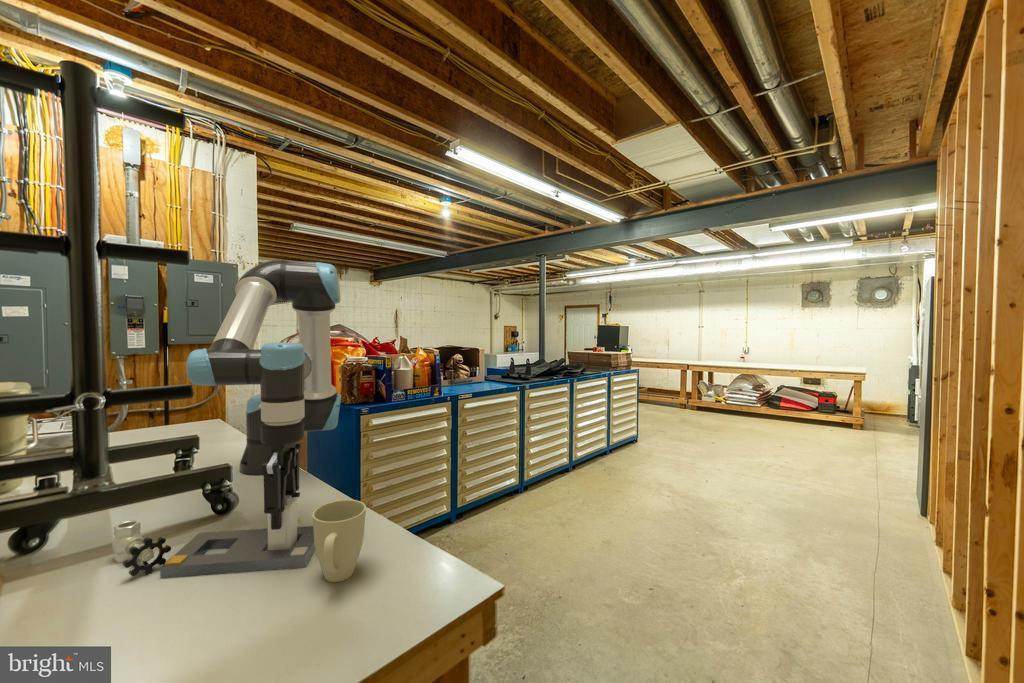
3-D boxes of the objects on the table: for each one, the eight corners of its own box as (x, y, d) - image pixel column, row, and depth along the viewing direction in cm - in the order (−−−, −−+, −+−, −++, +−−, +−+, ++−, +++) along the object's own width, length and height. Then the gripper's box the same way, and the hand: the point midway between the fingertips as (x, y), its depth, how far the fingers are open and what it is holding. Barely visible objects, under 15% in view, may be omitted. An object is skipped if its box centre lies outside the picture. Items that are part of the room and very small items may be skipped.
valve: (100, 562, 76) (125, 584, 70) (99, 528, 76) (124, 547, 70) (145, 546, 82) (171, 565, 76) (144, 514, 82) (171, 531, 76)
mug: (298, 576, 73) (298, 512, 73) (350, 554, 81) (351, 495, 80) (325, 605, 66) (326, 534, 66) (380, 577, 74) (381, 513, 73)
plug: (275, 547, 83) (275, 494, 82) (297, 545, 83) (297, 493, 83) (267, 558, 79) (267, 503, 78) (290, 556, 80) (290, 501, 79)
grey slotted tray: (199, 542, 84) (199, 531, 84) (323, 534, 88) (323, 524, 88) (160, 578, 72) (160, 565, 72) (305, 567, 76) (305, 555, 76)
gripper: (279, 411, 88) (279, 517, 89) (241, 433, 71) (241, 563, 72) (316, 411, 89) (315, 515, 90) (287, 432, 72) (287, 559, 73)
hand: (282, 536), depth 81 cm, fingers closed on plug, 4 cm apart
